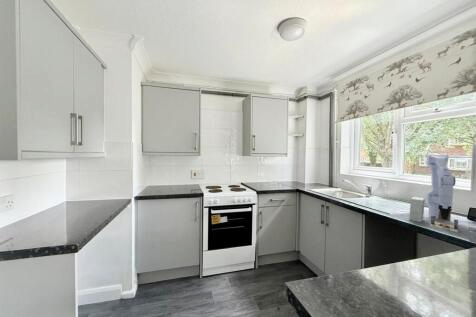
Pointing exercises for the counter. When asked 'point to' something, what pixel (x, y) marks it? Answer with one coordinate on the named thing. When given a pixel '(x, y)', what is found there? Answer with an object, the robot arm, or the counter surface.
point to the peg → (444, 226)
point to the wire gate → (446, 225)
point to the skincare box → (417, 209)
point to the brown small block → (444, 219)
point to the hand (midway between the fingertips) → (444, 218)
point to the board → (446, 227)
